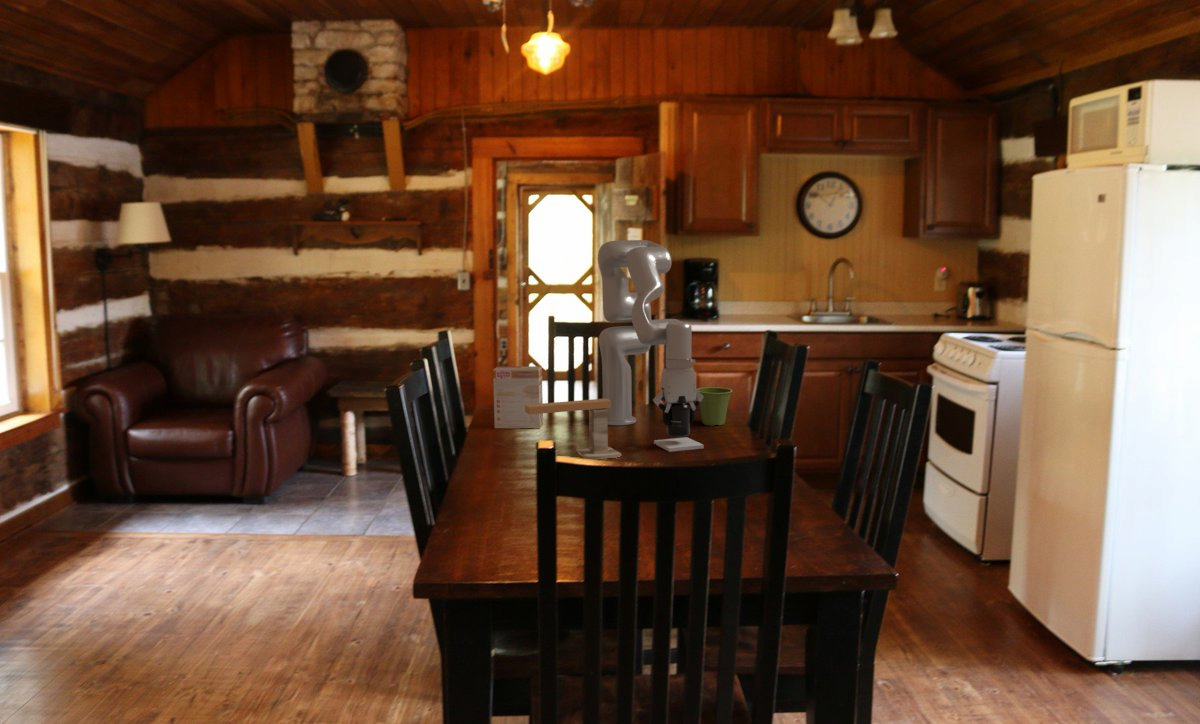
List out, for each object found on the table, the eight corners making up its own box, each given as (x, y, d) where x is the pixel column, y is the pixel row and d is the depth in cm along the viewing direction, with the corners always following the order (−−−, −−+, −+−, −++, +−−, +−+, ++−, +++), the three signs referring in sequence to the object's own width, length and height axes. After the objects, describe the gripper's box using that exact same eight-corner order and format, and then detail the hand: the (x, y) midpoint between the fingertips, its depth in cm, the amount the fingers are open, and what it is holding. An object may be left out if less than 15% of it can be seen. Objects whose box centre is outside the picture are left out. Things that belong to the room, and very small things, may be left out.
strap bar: (525, 411, 275) (524, 404, 274) (605, 405, 283) (605, 398, 283) (529, 414, 271) (529, 407, 271) (610, 407, 279) (610, 400, 279)
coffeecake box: (543, 424, 325) (542, 365, 322) (540, 429, 318) (538, 369, 315) (498, 424, 326) (497, 365, 324) (494, 428, 319) (492, 369, 317)
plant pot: (730, 428, 317) (731, 393, 315) (693, 427, 319) (693, 392, 317) (733, 420, 328) (733, 387, 327) (697, 419, 331) (697, 386, 329)
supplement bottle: (671, 437, 288) (671, 397, 287) (663, 432, 295) (663, 393, 293) (693, 436, 290) (693, 395, 288) (685, 431, 297) (685, 391, 295)
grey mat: (653, 443, 296) (653, 440, 296) (687, 440, 300) (687, 437, 300) (669, 451, 286) (669, 448, 286) (703, 448, 290) (703, 444, 290)
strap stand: (576, 453, 285) (575, 406, 283) (608, 450, 289) (608, 404, 287) (588, 461, 276) (587, 413, 274) (621, 457, 279) (621, 410, 277)
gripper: (699, 360, 296) (699, 419, 299) (646, 364, 290) (646, 424, 293) (711, 364, 289) (710, 424, 292) (656, 367, 283) (656, 429, 286)
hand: (678, 423), depth 292 cm, fingers closed on supplement bottle, 6 cm apart
